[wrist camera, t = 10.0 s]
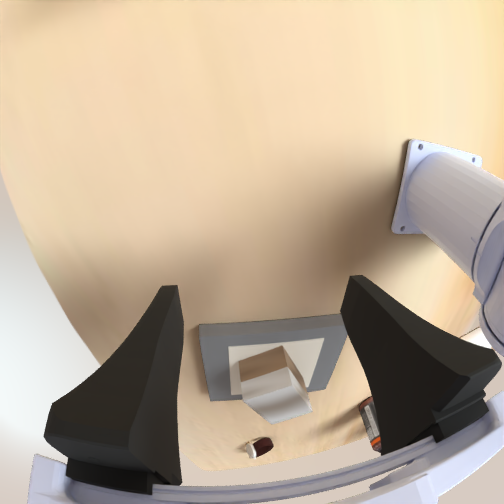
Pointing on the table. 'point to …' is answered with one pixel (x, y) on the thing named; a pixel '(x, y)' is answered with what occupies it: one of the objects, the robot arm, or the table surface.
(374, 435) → the supplement bottle
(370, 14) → the table surface
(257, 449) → the watch
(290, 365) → the block
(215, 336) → the stand
